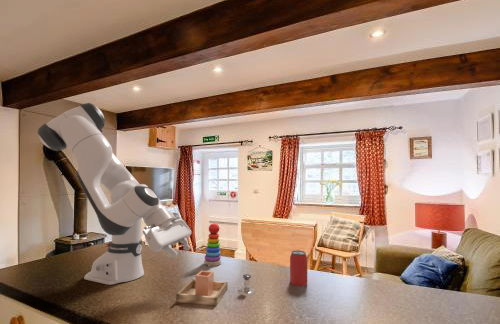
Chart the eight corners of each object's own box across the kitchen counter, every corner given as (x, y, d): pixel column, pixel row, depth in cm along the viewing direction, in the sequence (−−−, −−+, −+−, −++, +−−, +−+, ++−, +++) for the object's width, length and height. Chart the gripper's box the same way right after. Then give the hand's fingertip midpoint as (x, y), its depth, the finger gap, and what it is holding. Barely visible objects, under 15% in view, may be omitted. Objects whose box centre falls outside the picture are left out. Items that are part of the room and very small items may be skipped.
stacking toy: (218, 267, 119) (218, 225, 120) (201, 265, 120) (202, 224, 121) (223, 261, 127) (223, 222, 128) (207, 260, 128) (208, 221, 129)
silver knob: (235, 296, 90) (236, 278, 91) (240, 288, 97) (240, 271, 97) (254, 298, 89) (254, 280, 89) (257, 290, 95) (257, 273, 96)
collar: (195, 296, 88) (195, 275, 88) (201, 290, 92) (201, 270, 93) (207, 298, 87) (208, 276, 87) (213, 292, 91) (213, 271, 92)
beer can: (286, 283, 101) (286, 252, 102) (296, 279, 106) (296, 248, 106) (301, 289, 96) (301, 255, 97) (310, 283, 101) (310, 252, 102)
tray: (176, 303, 85) (176, 294, 85) (192, 287, 97) (192, 279, 97) (216, 308, 82) (216, 298, 82) (227, 290, 94) (227, 282, 95)
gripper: (146, 222, 85) (171, 256, 82) (181, 212, 104) (202, 240, 101) (134, 234, 86) (158, 268, 83) (171, 222, 106) (191, 250, 102)
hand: (182, 253), depth 92 cm, fingers open, 6 cm apart
